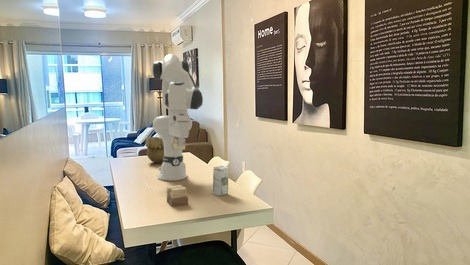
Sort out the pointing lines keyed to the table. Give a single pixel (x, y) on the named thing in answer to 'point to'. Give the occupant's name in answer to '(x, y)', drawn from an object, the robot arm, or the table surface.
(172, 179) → the robot arm
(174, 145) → the maple cube
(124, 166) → the table surface
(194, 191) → the table surface
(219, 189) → the syrup box
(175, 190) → the oak slab
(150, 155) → the clay pot
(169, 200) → the walnut slab
